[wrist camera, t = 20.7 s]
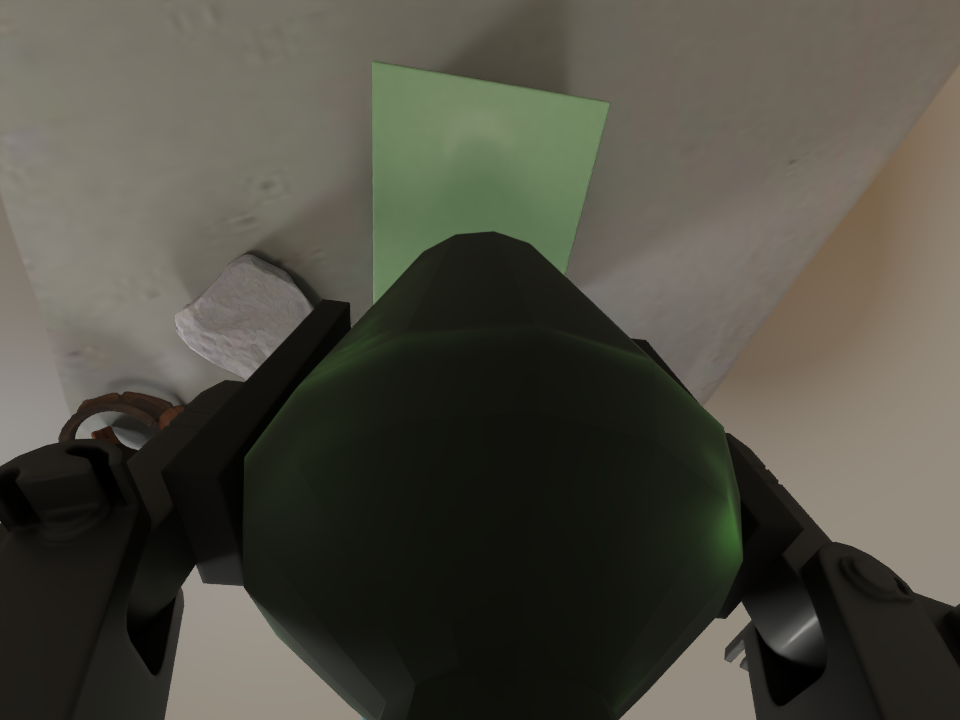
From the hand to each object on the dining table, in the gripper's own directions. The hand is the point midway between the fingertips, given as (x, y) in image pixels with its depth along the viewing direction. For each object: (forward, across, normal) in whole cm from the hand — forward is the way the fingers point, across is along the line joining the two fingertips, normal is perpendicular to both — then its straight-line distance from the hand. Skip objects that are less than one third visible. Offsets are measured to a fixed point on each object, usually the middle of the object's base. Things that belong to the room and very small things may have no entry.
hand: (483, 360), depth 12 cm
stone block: (+21, -16, -11) cm, 29 cm away
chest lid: (+13, 0, +1) cm, 13 cm away
